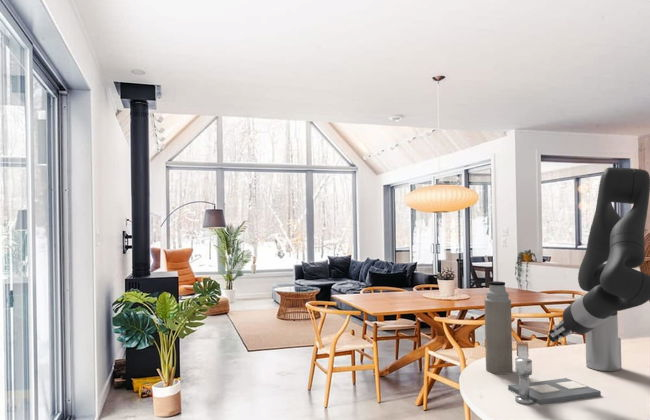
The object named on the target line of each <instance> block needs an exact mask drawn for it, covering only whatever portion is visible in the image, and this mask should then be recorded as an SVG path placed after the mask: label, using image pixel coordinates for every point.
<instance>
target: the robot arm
mask: <svg viewBox="0 0 650 420" xmlns="http://www.w3.org/2000/svg"><path fill="white" fill-rule="evenodd" d="M598 186H599V187H598V192H597V199H596V206H595V207H596V208H595V212H594V216H593V219H592V222H591V227H590V228H589V234H588V238H587V245H586V249H585V253H584V256H583V258H582V262H580V263H581V264H580V267H579V270H578V275H577V276H578V277H577V282H578V286H579V287H580V289H581V290H582V291H584V292H586V293H585V294H584V295H581V296H580V297H578V298H577V299H575V301H573V302H572V303H571V304H569V305H568V306H567V307H566V308H564V310H563V312H562V319H561V320H560V321H559V322H558V323H557V324H556V325H555V327H554V328H553V329H550V330H549V331H548V336H547V337H548V339H549V340H550V341H551V342H552V343H554V342H557V341H558V340H560V339H562V338H565V337H567V336H571V335H572V334H574V333H576V334H582V335H583V334H584V336H585V339H584V340H585V365H586V367H588V368H590V369H592V370H596V371H602V372H617V371H619V370H620V369H622V368H623V367H622V338H620V337H619V321H618V320H619V319H618V312H621V311H625V310H628V309H633V308H636V307H639V306H642V305H644V304H646V303H647V302H648V301H650V274H648V273H645V272H642V271H640V270H637V269H635V268H638V267H640V266H641V265H643V263H644V262H645V259H646V253H645V251H646V250H645V231H646V222H647V216H648V210H649V201H650V173H649V171H647V170H645V169H642V168H631V167H618V166H617V167H616V166H615V167H614V166H613V167H607V168H605V169H604V170H603V172H602V174H601V176H600V180H599V185H598ZM613 203H619V204H627V205H628V204H629V205H630V204H631V205H632V208H631V209H629V211H628V212H627V213H626V214H625V215H624V216H623V217H621V216H620V214H618V212H617V211H616V210H615V208H614V206H613Z"/></svg>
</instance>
